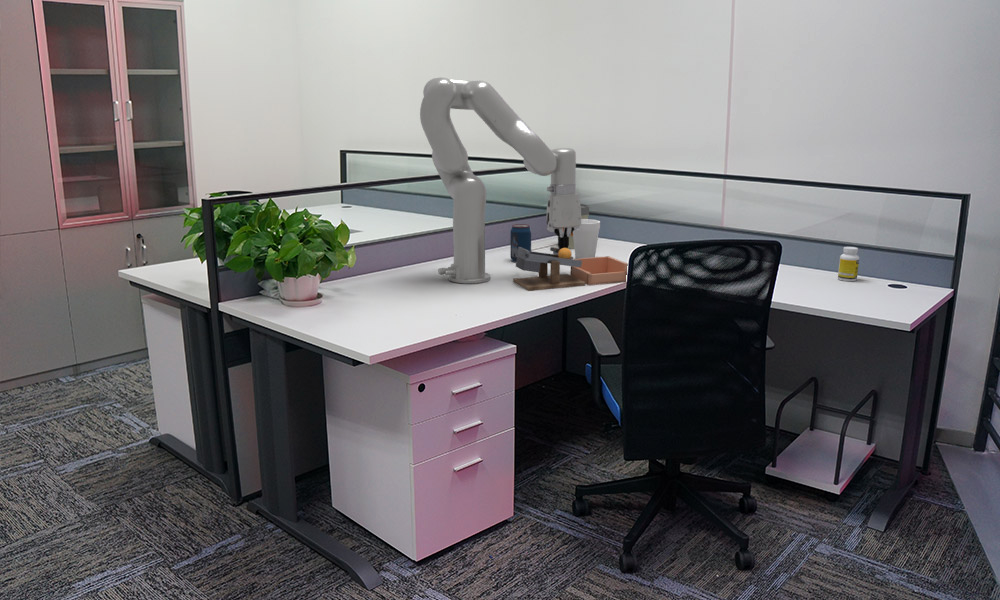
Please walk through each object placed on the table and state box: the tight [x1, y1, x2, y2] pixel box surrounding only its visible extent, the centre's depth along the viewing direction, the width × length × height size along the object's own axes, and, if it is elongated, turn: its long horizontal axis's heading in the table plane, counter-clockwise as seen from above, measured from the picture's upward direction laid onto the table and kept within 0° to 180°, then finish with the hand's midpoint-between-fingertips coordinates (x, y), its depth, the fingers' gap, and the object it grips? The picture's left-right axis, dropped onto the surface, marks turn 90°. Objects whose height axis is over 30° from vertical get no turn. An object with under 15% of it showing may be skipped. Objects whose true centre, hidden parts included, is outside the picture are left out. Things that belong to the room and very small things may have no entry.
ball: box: [558, 248, 573, 259], centre depth 245 cm, size 4×4×4 cm
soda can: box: [509, 223, 532, 263], centre depth 276 cm, size 7×7×12 cm
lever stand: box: [512, 261, 586, 292], centre depth 244 cm, size 18×12×8 cm, turn 111°
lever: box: [515, 246, 582, 273], centre depth 247 cm, size 18×15×6 cm
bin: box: [570, 255, 629, 286], centre depth 250 cm, size 13×12×6 cm
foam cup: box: [573, 218, 601, 259], centre depth 278 cm, size 10×9×13 cm
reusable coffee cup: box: [563, 203, 590, 250], centre depth 300 cm, size 12×13×15 cm
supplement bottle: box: [837, 246, 860, 282], centre depth 248 cm, size 5×5×10 cm
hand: (563, 249), depth 255 cm, fingers closed
